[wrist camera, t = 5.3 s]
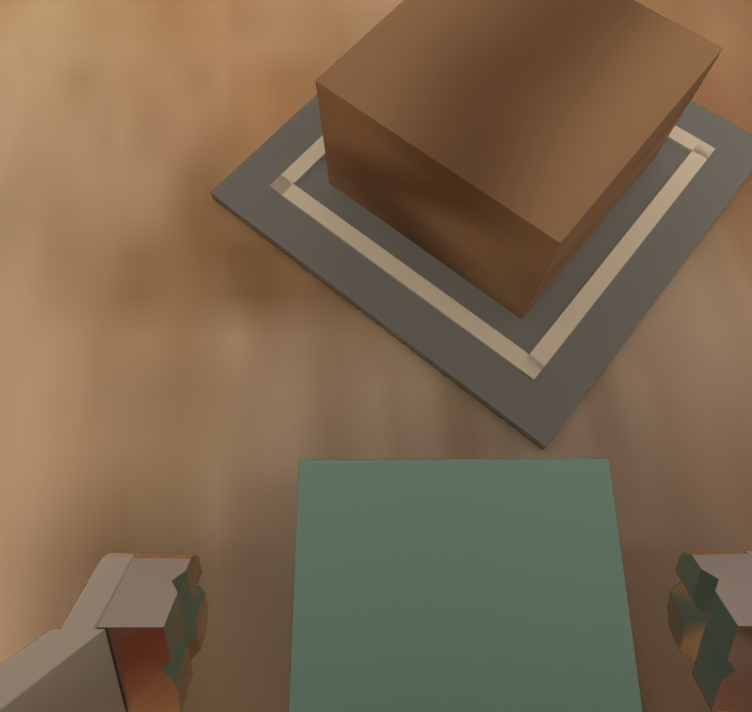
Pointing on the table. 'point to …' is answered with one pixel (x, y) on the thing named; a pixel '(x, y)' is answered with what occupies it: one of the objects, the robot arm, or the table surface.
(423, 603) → the pillar
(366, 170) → the base block
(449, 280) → the board
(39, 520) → the table surface
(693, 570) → the robot arm
